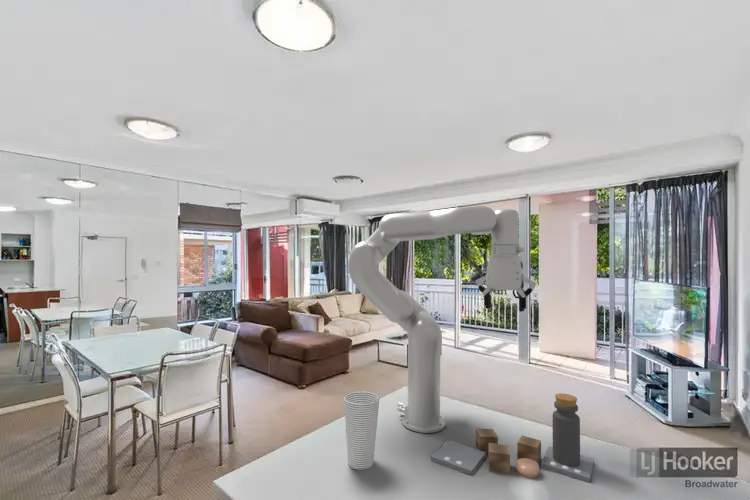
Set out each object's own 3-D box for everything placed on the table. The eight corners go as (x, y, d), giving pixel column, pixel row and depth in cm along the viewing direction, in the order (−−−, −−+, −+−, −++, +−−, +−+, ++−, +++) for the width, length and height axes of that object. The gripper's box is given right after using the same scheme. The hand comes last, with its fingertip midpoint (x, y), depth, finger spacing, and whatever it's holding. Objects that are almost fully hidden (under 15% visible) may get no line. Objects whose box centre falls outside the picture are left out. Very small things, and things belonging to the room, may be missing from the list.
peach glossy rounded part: (540, 467, 85) (539, 460, 85) (538, 481, 81) (538, 474, 81) (517, 462, 88) (516, 456, 87) (514, 476, 83) (514, 469, 83)
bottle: (583, 468, 84) (583, 402, 85) (556, 465, 85) (556, 399, 86) (575, 455, 90) (575, 393, 91) (549, 452, 91) (549, 391, 92)
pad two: (431, 460, 88) (431, 456, 88) (448, 444, 97) (448, 440, 97) (471, 475, 83) (471, 470, 83) (486, 456, 91) (486, 451, 91)
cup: (361, 450, 93) (362, 388, 93) (386, 463, 87) (386, 397, 87) (335, 462, 87) (336, 396, 87) (359, 478, 81) (360, 406, 81)
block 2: (489, 471, 84) (489, 451, 85) (488, 461, 89) (488, 442, 89) (509, 474, 83) (509, 454, 83) (508, 464, 88) (508, 445, 88)
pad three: (540, 467, 86) (540, 462, 86) (548, 449, 94) (548, 445, 95) (589, 482, 81) (589, 477, 81) (593, 462, 89) (593, 458, 89)
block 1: (480, 454, 92) (480, 436, 92) (475, 445, 96) (475, 428, 96) (498, 455, 92) (498, 436, 92) (492, 446, 96) (492, 428, 96)
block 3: (517, 461, 89) (517, 442, 89) (521, 453, 93) (521, 435, 93) (537, 467, 87) (537, 447, 87) (541, 459, 90) (541, 440, 90)
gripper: (539, 251, 107) (538, 311, 106) (480, 252, 117) (480, 306, 116) (533, 251, 100) (533, 313, 100) (472, 251, 110) (471, 308, 110)
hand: (504, 309), depth 108 cm, fingers open, 9 cm apart
